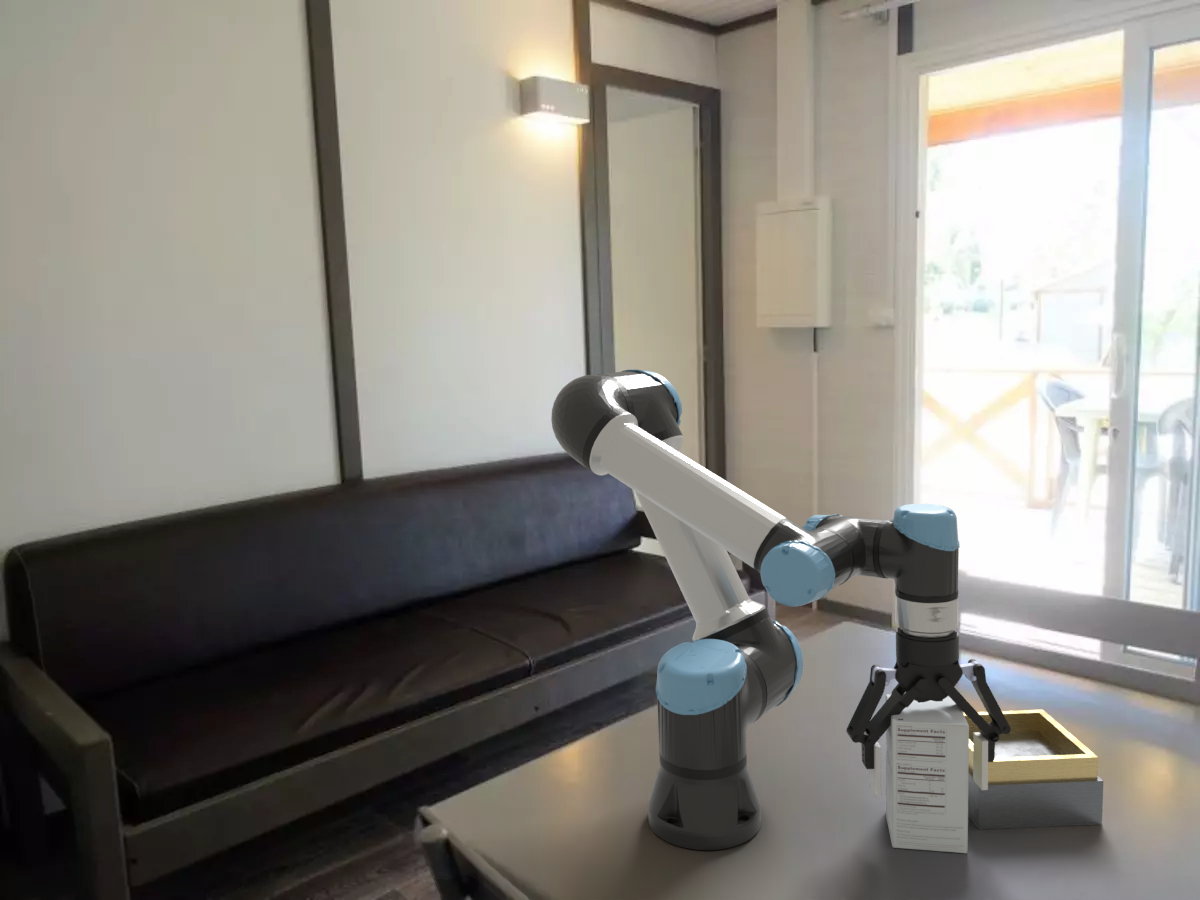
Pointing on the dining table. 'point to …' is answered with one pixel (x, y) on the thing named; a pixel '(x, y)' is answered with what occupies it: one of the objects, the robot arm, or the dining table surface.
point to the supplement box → (928, 777)
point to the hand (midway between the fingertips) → (928, 788)
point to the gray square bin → (1035, 777)
